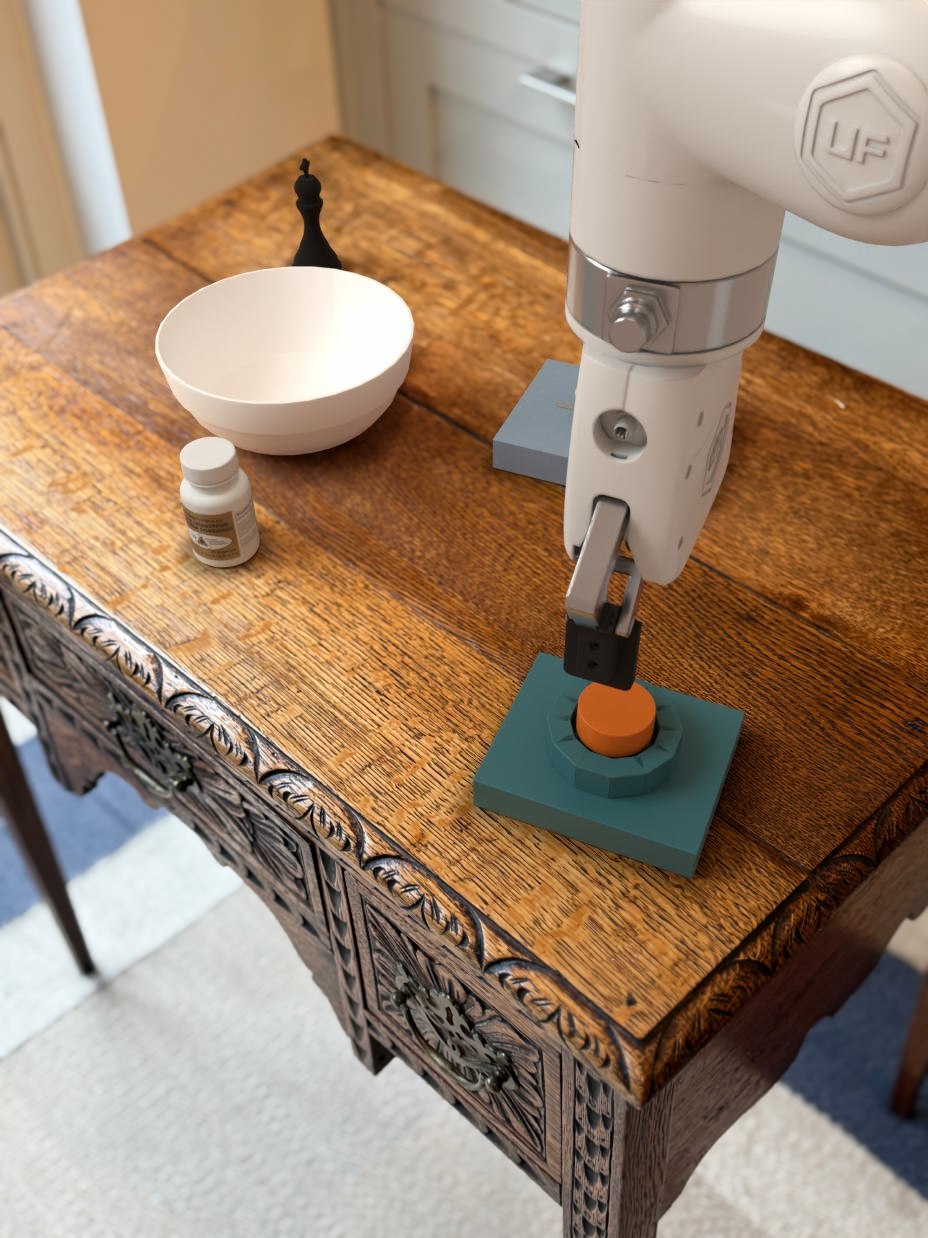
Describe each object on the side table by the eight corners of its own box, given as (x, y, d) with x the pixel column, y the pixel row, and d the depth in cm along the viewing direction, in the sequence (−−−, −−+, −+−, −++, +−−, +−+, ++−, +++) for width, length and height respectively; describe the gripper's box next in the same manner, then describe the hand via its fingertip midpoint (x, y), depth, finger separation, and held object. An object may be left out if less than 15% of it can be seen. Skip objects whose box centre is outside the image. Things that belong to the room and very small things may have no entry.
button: (662, 712, 62) (665, 690, 61) (639, 767, 60) (643, 745, 59) (590, 690, 64) (592, 668, 62) (565, 744, 61) (567, 722, 60)
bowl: (127, 464, 84) (104, 377, 79) (239, 333, 97) (225, 251, 92) (366, 512, 80) (358, 424, 75) (451, 369, 92) (449, 285, 87)
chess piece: (283, 278, 103) (268, 165, 96) (303, 254, 106) (290, 144, 99) (330, 285, 102) (318, 172, 95) (349, 261, 105) (339, 150, 98)
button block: (739, 737, 66) (751, 689, 63) (692, 880, 59) (702, 833, 57) (538, 676, 69) (540, 628, 66) (472, 805, 63) (471, 758, 60)
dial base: (725, 426, 87) (730, 396, 85) (685, 515, 79) (689, 484, 78) (546, 386, 91) (547, 356, 89) (492, 467, 84) (492, 437, 82)
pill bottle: (180, 560, 77) (157, 465, 72) (215, 519, 80) (195, 425, 74) (239, 576, 76) (220, 481, 70) (272, 534, 79) (256, 440, 73)
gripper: (705, 429, 37) (652, 772, 49) (816, 196, 48) (750, 523, 61) (484, 379, 39) (485, 719, 51) (640, 167, 50) (610, 488, 63)
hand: (629, 612), depth 56 cm, fingers open, 8 cm apart
